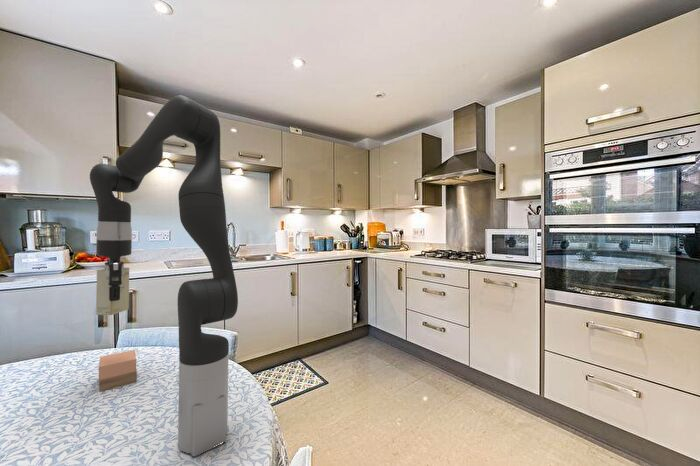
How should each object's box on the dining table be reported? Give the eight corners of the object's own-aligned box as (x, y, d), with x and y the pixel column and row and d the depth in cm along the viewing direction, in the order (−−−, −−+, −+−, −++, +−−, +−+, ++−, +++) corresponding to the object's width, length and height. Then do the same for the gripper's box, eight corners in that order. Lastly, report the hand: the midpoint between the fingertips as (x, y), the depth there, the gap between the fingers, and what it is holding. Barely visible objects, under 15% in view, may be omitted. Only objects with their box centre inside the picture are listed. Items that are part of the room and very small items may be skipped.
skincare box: (111, 315, 76) (112, 270, 76) (94, 315, 76) (95, 269, 76) (129, 309, 83) (130, 267, 82) (114, 308, 83) (115, 266, 82)
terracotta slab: (136, 371, 81) (136, 359, 81) (98, 380, 76) (98, 367, 76) (134, 361, 87) (134, 349, 87) (99, 368, 82) (100, 356, 82)
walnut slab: (136, 383, 81) (136, 370, 81) (99, 393, 76) (99, 380, 76) (134, 372, 88) (134, 361, 88) (99, 381, 82) (99, 369, 82)
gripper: (134, 239, 76) (133, 301, 77) (129, 237, 87) (128, 291, 87) (96, 239, 71) (95, 305, 72) (96, 237, 82) (95, 294, 82)
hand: (113, 297), depth 79 cm, fingers closed on skincare box, 7 cm apart
